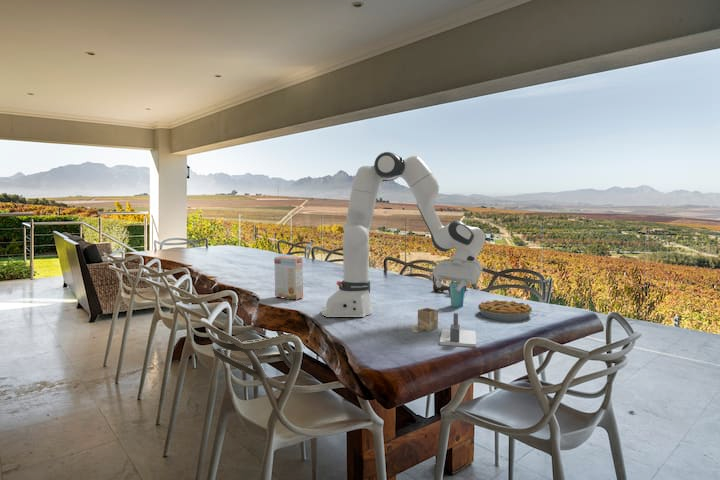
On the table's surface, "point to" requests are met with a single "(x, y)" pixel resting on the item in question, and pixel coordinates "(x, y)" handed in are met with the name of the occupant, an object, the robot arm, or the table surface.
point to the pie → (505, 310)
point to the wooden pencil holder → (427, 320)
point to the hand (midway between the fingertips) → (447, 288)
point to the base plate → (465, 338)
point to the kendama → (443, 288)
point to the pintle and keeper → (454, 329)
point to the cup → (456, 294)
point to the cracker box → (288, 277)
